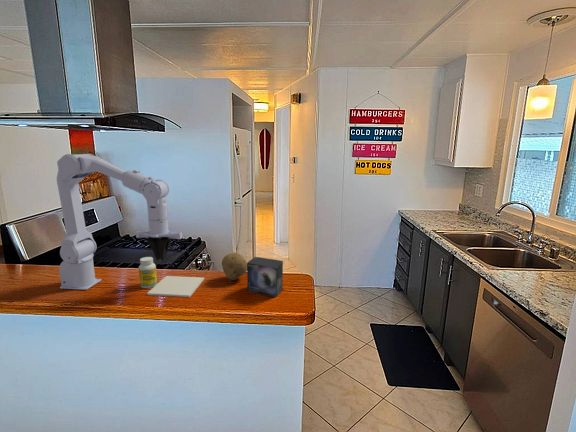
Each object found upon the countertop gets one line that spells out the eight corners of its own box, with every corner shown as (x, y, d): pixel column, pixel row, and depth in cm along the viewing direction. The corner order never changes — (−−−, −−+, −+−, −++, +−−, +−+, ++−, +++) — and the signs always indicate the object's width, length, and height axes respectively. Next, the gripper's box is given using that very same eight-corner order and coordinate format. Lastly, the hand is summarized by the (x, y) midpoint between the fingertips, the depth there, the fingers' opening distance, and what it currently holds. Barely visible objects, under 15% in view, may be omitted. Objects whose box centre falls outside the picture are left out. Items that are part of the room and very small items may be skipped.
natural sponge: (245, 273, 121) (245, 248, 119) (249, 283, 112) (249, 256, 110) (221, 275, 118) (220, 250, 116) (223, 285, 110) (222, 258, 108)
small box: (246, 292, 106) (245, 262, 103) (254, 284, 112) (254, 256, 109) (275, 298, 102) (276, 267, 100) (283, 289, 108) (283, 260, 106)
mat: (147, 294, 103) (146, 293, 102) (166, 277, 116) (166, 275, 116) (189, 297, 102) (189, 295, 101) (204, 279, 115) (204, 277, 115)
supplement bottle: (155, 280, 113) (153, 255, 111) (158, 286, 109) (156, 259, 107) (138, 284, 110) (136, 257, 108) (141, 290, 106) (139, 262, 104)
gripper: (129, 220, 99) (133, 262, 102) (175, 222, 98) (177, 264, 101) (140, 215, 106) (144, 255, 108) (184, 217, 105) (186, 256, 108)
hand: (161, 259), depth 105 cm, fingers closed
